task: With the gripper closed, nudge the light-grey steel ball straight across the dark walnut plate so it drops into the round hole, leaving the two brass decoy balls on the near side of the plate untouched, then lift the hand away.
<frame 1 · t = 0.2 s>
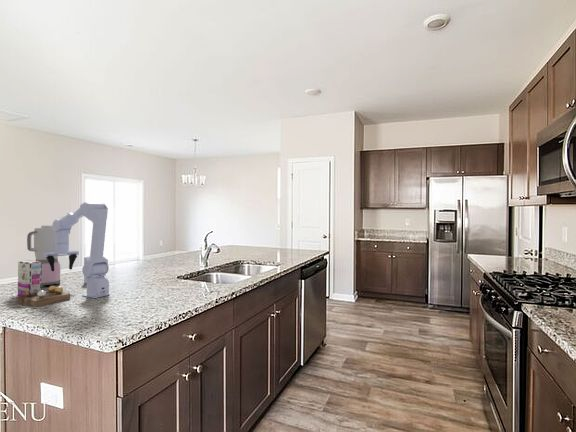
hand: (61, 270, 168), 10 cm above the countertop, fingers open, 7 cm apart
walnut plate: (44, 300, 147), on the countertop
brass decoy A: (58, 290, 149), point 4 cm above the countertop, touching walnut plate
candy bar box: (29, 297, 153), on the countertop
syrup box: (91, 282, 187), on the countertop
steel ball: (41, 294, 142), point 4 cm above the countertop, touching walnut plate
blender: (43, 286, 176), on the countertop
brass decoy B: (52, 289, 151), point 4 cm above the countertop, touching walnut plate
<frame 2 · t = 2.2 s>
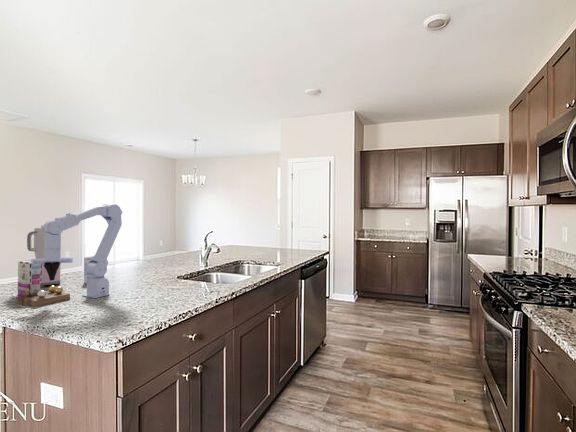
hand: (52, 280, 143), 10 cm above the countertop, fingers closed
nothing on the countertop moved.
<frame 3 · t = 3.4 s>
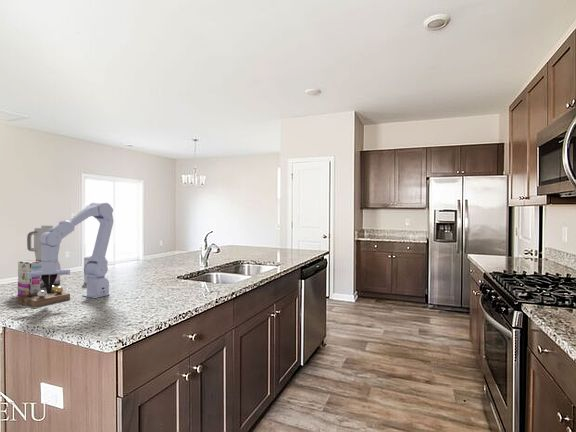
hand: (49, 292, 140), 5 cm above the countertop, fingers closed
nothing on the countertop moved.
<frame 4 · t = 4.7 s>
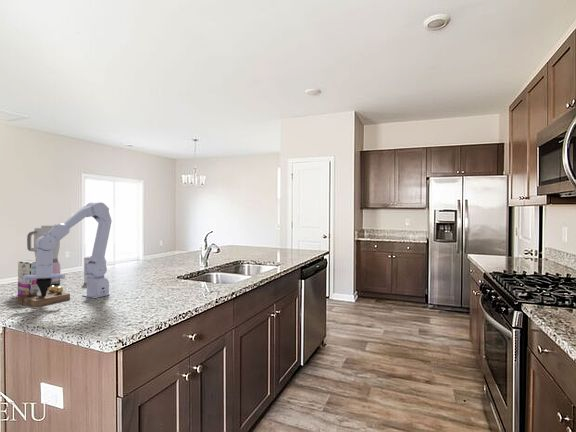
hand: (43, 296, 141), 3 cm above the countertop, fingers closed, pressing on steel ball
steel ball: (41, 294, 142), point 4 cm above the countertop, tilted 18°, touching gripper, walnut plate
everything else where it was.
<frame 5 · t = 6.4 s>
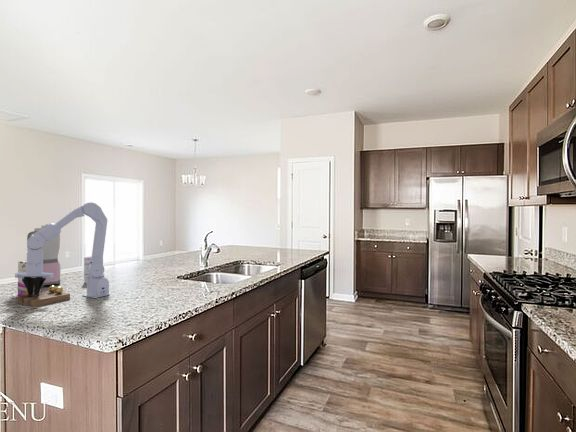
hand: (33, 294, 144), 3 cm above the countertop, fingers closed
steel ball: (35, 292, 146), point 4 cm above the countertop, tilted 158°, touching gripper, walnut plate
everything else where it was.
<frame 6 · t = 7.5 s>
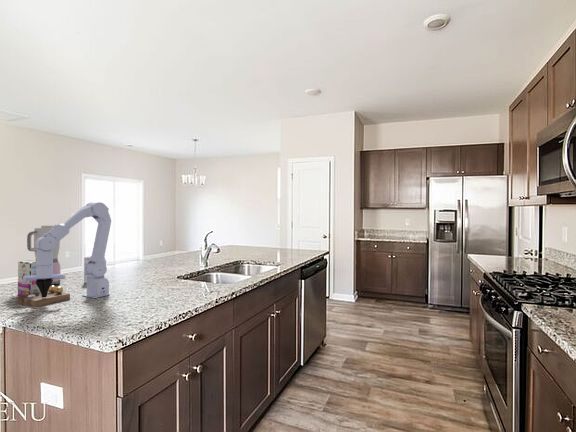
hand: (44, 296, 141), 3 cm above the countertop, fingers closed
steel ball: (31, 297, 145), point 2 cm above the countertop, tilted 133°
everything else where it was.
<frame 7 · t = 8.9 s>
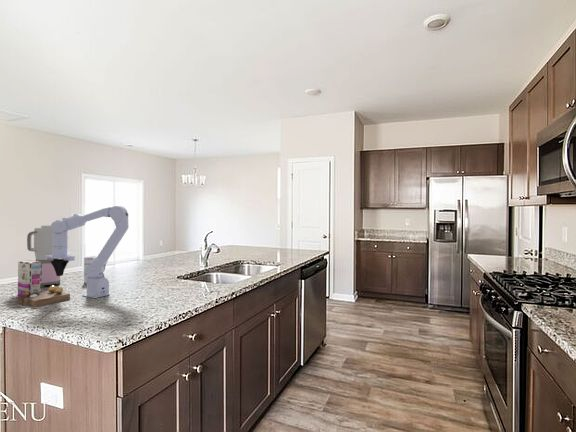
hand: (59, 275, 153), 10 cm above the countertop, fingers closed
steel ball: (33, 297, 145), point 2 cm above the countertop, tilted 139°
everything else where it was.
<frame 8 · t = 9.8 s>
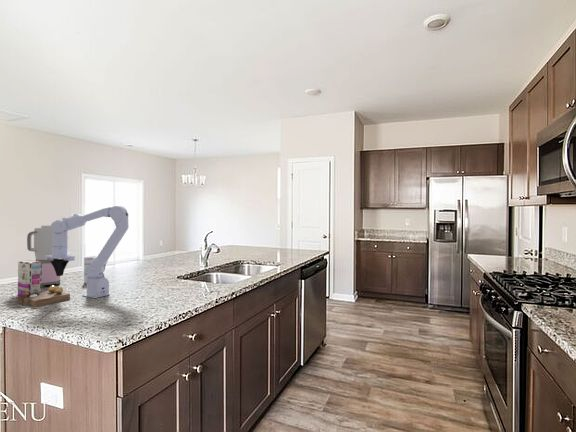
hand: (59, 275, 153), 10 cm above the countertop, fingers closed
nothing on the countertop moved.
at the end: steel ball 0.5 cm from the target spot in the walnut plate, point 1.6 cm above the walnut plate's base; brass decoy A moved 0.1 cm from its start; brass decoy B moved 0.1 cm from its start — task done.
